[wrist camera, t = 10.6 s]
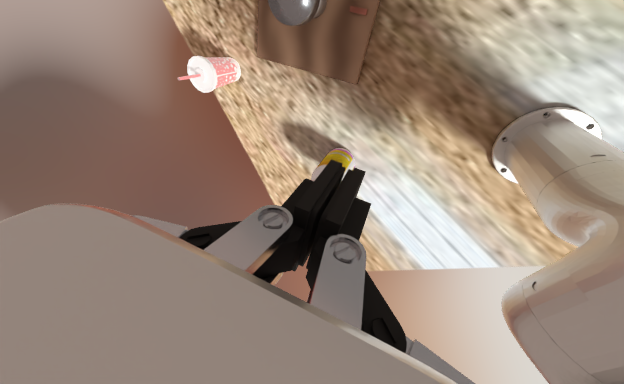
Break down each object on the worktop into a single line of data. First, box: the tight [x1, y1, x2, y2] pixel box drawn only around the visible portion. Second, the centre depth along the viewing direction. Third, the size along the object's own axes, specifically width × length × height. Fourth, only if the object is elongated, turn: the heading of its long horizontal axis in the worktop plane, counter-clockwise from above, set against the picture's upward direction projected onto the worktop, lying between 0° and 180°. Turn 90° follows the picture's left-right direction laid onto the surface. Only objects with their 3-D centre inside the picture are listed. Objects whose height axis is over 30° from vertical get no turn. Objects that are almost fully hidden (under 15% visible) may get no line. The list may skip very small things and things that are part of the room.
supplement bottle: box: [311, 148, 355, 181], centre depth 47 cm, size 7×7×13 cm
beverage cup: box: [178, 56, 241, 93], centre depth 45 cm, size 6×6×14 cm
